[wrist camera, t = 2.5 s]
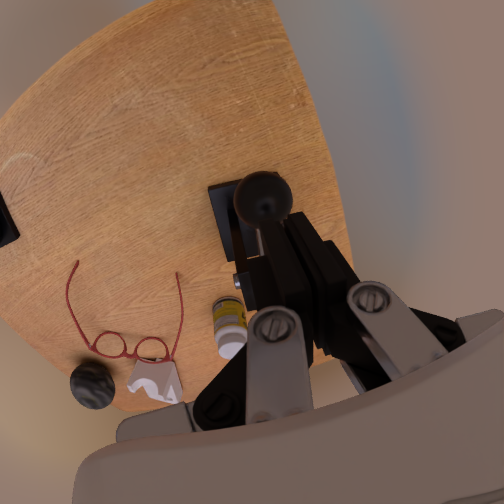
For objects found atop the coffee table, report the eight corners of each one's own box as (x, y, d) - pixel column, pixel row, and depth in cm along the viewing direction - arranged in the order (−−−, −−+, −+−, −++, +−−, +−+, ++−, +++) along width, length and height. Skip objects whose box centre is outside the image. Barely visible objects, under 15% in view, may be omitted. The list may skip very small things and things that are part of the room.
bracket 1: (140, 353, 46) (126, 385, 40) (174, 362, 46) (162, 395, 40) (153, 384, 53) (143, 411, 47) (182, 392, 53) (174, 420, 47)
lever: (224, 166, 13) (235, 215, 12) (283, 154, 13) (302, 200, 12) (249, 268, 26) (256, 298, 24) (280, 260, 26) (288, 290, 24)
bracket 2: (207, 186, 30) (208, 249, 19) (277, 171, 30) (316, 224, 19) (227, 257, 35) (237, 334, 25) (286, 243, 36) (318, 314, 25)
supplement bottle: (243, 316, 42) (251, 359, 35) (213, 318, 42) (216, 362, 35) (243, 294, 40) (252, 339, 33) (211, 296, 39) (214, 342, 32)
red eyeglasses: (88, 331, 40) (82, 353, 36) (70, 259, 32) (57, 281, 28) (181, 343, 44) (180, 367, 40) (186, 272, 36) (184, 298, 32)
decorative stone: (88, 347, 43) (77, 391, 34) (126, 371, 48) (121, 413, 40) (68, 361, 45) (58, 399, 36) (103, 382, 50) (97, 419, 42)
